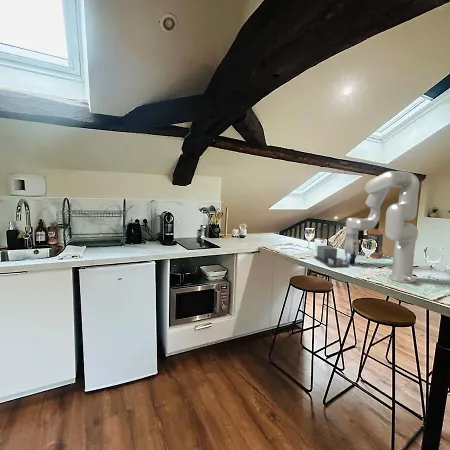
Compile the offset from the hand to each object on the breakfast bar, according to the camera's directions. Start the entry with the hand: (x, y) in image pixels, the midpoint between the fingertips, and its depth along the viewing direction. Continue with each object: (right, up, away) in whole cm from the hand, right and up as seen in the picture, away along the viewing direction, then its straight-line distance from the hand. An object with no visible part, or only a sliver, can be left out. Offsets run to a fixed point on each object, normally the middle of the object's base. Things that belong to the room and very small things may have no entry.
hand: (350, 262), depth 185 cm
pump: (0, -1, 0) cm, 1 cm away
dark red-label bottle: (+20, +2, +33) cm, 39 cm away
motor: (-11, 0, +7) cm, 13 cm away
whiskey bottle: (+29, +1, +24) cm, 37 cm away
